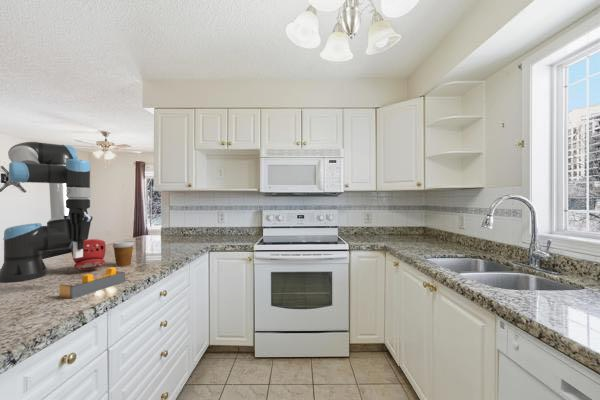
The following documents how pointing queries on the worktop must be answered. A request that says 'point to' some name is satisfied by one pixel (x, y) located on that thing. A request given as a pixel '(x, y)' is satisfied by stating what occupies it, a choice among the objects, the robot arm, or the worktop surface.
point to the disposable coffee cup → (123, 252)
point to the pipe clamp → (90, 277)
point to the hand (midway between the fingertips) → (78, 257)
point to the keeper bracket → (91, 285)
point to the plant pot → (91, 255)
